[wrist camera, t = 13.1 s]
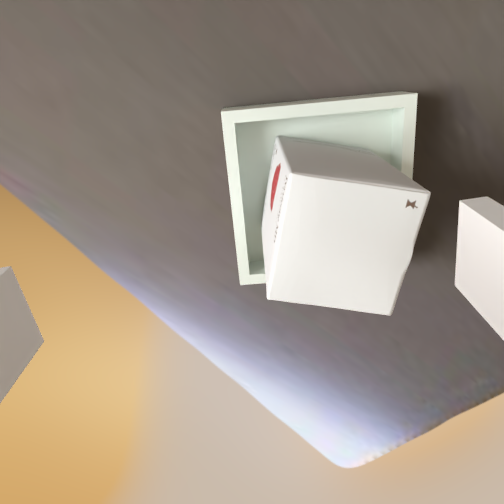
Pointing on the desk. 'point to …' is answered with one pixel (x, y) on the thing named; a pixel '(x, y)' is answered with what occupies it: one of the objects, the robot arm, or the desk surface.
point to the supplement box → (338, 226)
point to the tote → (312, 128)
